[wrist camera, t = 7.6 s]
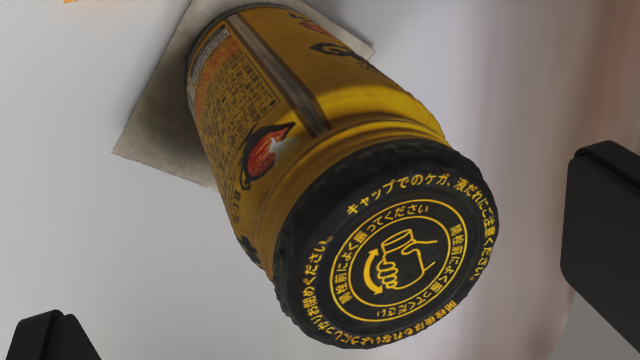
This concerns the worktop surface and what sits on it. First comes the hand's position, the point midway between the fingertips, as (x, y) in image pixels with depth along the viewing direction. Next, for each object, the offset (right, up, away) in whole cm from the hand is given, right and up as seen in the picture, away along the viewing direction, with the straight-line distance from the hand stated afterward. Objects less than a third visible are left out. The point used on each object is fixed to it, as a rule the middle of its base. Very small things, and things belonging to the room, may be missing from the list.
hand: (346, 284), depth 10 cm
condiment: (-3, +5, +11) cm, 13 cm away
